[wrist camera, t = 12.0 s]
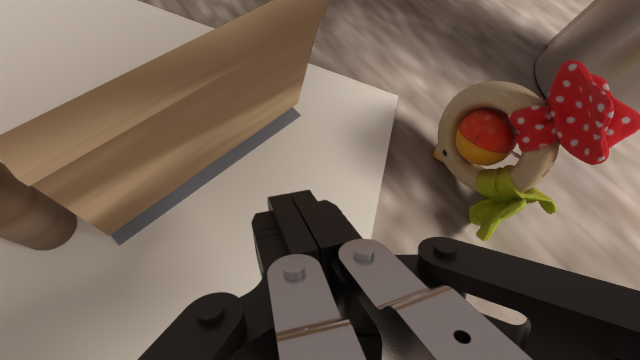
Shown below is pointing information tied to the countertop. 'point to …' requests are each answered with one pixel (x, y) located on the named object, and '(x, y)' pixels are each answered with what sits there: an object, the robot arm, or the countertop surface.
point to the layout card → (178, 206)
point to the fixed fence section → (32, 215)
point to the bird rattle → (527, 137)
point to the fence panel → (166, 116)
